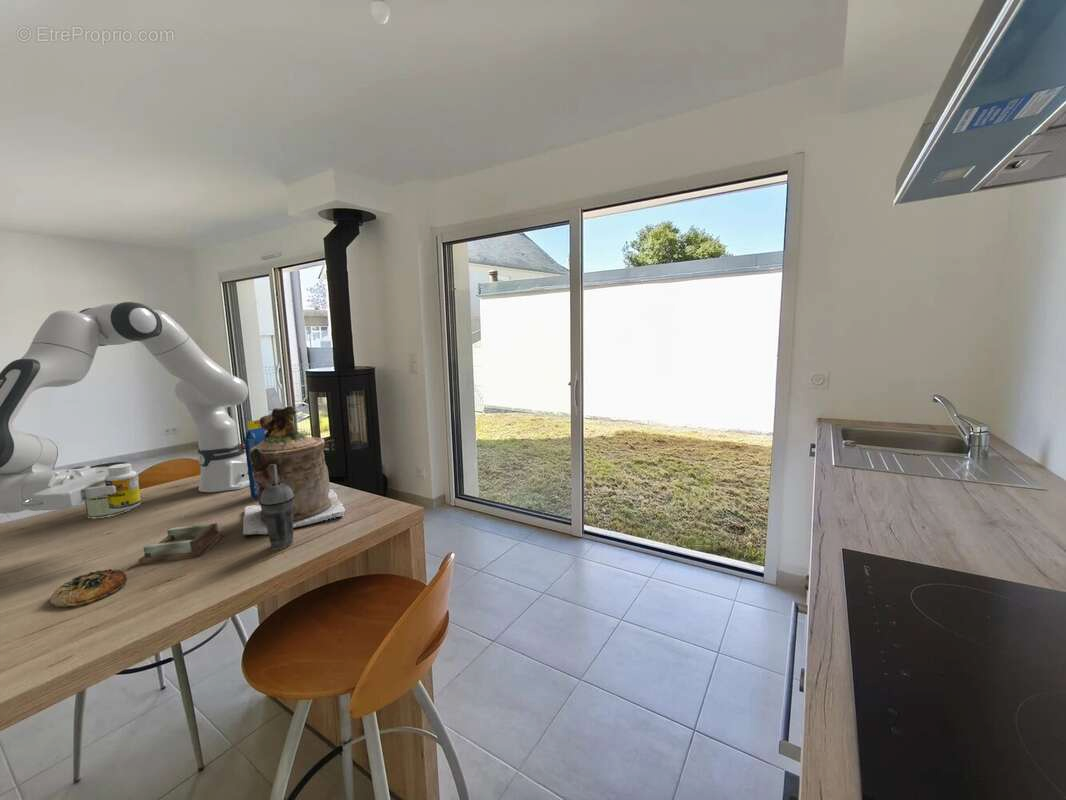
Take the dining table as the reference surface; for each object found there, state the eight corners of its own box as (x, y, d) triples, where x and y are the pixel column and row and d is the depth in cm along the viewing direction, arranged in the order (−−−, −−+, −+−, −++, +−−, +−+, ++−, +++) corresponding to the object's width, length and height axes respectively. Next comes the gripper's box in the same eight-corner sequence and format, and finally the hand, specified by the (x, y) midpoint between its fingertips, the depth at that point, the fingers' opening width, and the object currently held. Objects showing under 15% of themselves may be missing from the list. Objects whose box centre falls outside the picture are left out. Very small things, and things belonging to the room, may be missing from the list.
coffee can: (80, 516, 127) (72, 469, 125) (125, 503, 136) (118, 460, 134) (96, 521, 122) (87, 474, 120) (141, 508, 131) (134, 464, 129)
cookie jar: (334, 493, 141) (325, 396, 136) (347, 518, 120) (337, 405, 116) (244, 510, 128) (231, 404, 123) (241, 542, 107) (226, 416, 103)
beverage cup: (260, 554, 100) (250, 471, 98) (270, 540, 107) (261, 463, 105) (295, 549, 102) (286, 468, 100) (302, 536, 109) (294, 460, 107)
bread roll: (139, 572, 94) (132, 552, 92) (111, 608, 84) (104, 586, 82) (73, 585, 90) (65, 565, 89) (36, 624, 80) (27, 602, 79)
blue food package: (298, 488, 147) (290, 416, 143) (262, 500, 136) (253, 422, 133) (286, 485, 149) (279, 414, 146) (250, 497, 139) (241, 421, 135)
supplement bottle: (102, 512, 100) (95, 469, 98) (124, 503, 105) (118, 462, 104) (127, 511, 100) (120, 468, 98) (147, 502, 105) (141, 461, 104)
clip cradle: (139, 563, 97) (136, 549, 97) (170, 540, 109) (168, 527, 109) (199, 556, 100) (197, 542, 100) (223, 534, 112) (222, 521, 111)
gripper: (10, 491, 88) (90, 485, 91) (87, 464, 108) (151, 459, 111) (16, 520, 89) (95, 513, 92) (91, 488, 109) (155, 483, 112)
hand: (126, 483), depth 102 cm, fingers closed on supplement bottle, 5 cm apart
